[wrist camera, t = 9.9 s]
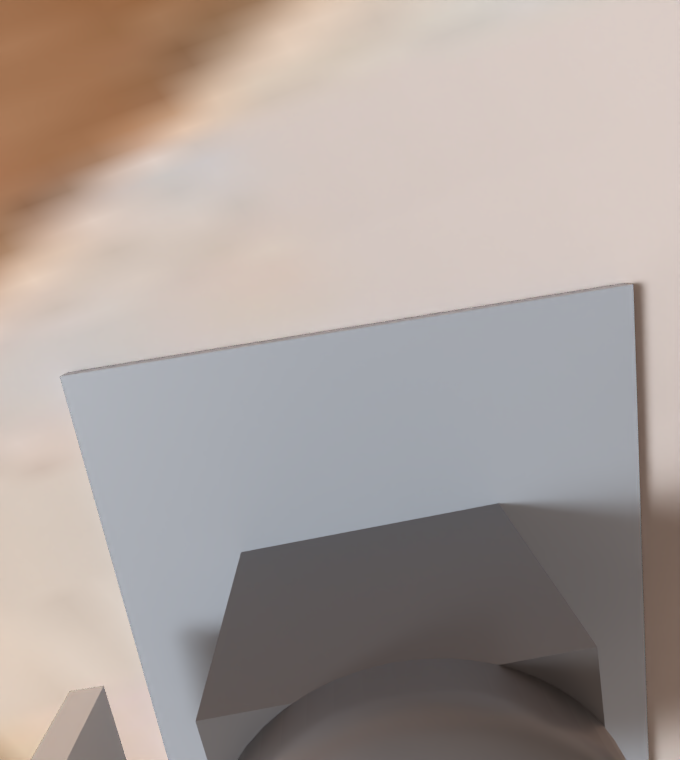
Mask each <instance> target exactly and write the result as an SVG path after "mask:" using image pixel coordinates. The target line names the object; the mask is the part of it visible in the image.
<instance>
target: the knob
mask: <svg viewBox="0 0 680 760" xmlns="http://www.w3.org/2000/svg"><path fill="white" fill-rule="evenodd" d="M195 722H196V725H197V728H198V731H199V735H200V738H201V741H202V744H203V748H204V751H205V754H206V757H207V760H626V759H625V757H624V755H623V754H622V752H621V750H620V749H619V747H618V745H617V743H616V742H615V740H614V739H613V737H612V736H611V735H610V734H609V732H608V731H607V730H606V728H605V721H604V711H603V701H602V690H601V680H600V670H599V659H598V649H597V646H596V644H595V643H594V641H593V640H592V638H591V637H590V635H589V634H588V632H587V631H586V630H585V628H584V627H583V625H582V624H581V622H580V621H579V619H578V618H577V616H576V615H575V614H574V612H573V611H572V609H571V608H570V606H569V605H568V603H567V602H566V601H565V599H564V598H563V596H562V595H561V593H560V592H559V590H558V589H557V587H556V586H555V585H554V583H553V582H552V580H551V579H550V577H549V576H548V574H547V573H546V571H545V570H544V569H543V567H542V566H541V564H540V563H539V561H538V560H537V558H536V557H535V556H534V554H533V553H532V551H531V550H530V548H529V547H528V545H527V544H526V542H525V541H524V540H523V538H522V537H521V535H520V534H519V532H518V531H517V529H516V528H515V527H514V525H513V524H512V522H511V521H510V519H509V518H508V516H507V515H506V513H505V512H504V511H503V509H502V508H501V506H500V505H499V503H497V504H492V505H486V506H481V507H476V508H471V509H465V510H460V511H455V512H450V513H444V514H439V515H434V516H429V517H423V518H418V519H413V520H408V521H402V522H397V523H392V524H387V525H381V526H376V527H371V528H366V529H360V530H355V531H350V532H345V533H339V534H334V535H329V536H323V537H318V538H313V539H308V540H302V541H297V542H292V543H287V544H281V545H276V546H271V547H266V548H260V549H255V550H250V551H245V552H241V554H240V558H239V562H238V565H237V569H236V573H235V577H234V580H233V584H232V588H231V591H230V595H229V599H228V602H227V606H226V610H225V614H224V617H223V621H222V625H221V628H220V632H219V636H218V640H217V643H216V647H215V651H214V654H213V658H212V662H211V665H210V669H209V673H208V677H207V680H206V684H205V688H204V691H203V695H202V699H201V702H200V706H199V710H198V714H197V717H196V721H195Z"/></svg>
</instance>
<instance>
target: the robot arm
mask: <svg viewBox="0 0 680 760" xmlns="http://www.w3.org/2000/svg"><path fill="white" fill-rule="evenodd" d="M31 760H126V757H125V754H124V751H123V748H122V744H121V741H120V738H119V735H118V731H117V728H116V725H115V722H114V718H113V715H112V712H111V709H110V705H109V702H108V699H107V696H106V692H105V689H104V686H100V687H94V688H87V689H81V690H74V691H70V692H69V693H68V695H67V697H66V699H65V700H64V702H63V704H62V706H61V707H60V709H59V711H58V713H57V714H56V716H55V718H54V720H53V721H52V723H51V725H50V727H49V728H48V730H47V732H46V734H45V735H44V737H43V739H42V741H41V742H40V744H39V746H38V748H37V749H36V751H35V753H34V755H33V757H32V758H31Z"/></svg>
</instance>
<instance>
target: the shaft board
mask: <svg viewBox="0 0 680 760" xmlns="http://www.w3.org/2000/svg"><path fill="white" fill-rule="evenodd" d="M60 379H61V383H62V386H63V390H64V393H65V397H66V401H67V404H68V408H69V411H70V415H71V418H72V422H73V425H74V429H75V432H76V436H77V439H78V443H79V446H80V450H81V453H82V457H83V461H84V464H85V468H86V471H87V475H88V478H89V482H90V485H91V489H92V492H93V496H94V499H95V503H96V506H97V510H98V513H99V517H100V520H101V524H102V528H103V531H104V535H105V538H106V542H107V545H108V549H109V552H110V556H111V559H112V563H113V566H114V570H115V573H116V577H117V580H118V584H119V588H120V591H121V595H122V598H123V602H124V605H125V609H126V612H127V616H128V619H129V623H130V626H131V630H132V633H133V637H134V640H135V644H136V647H137V651H138V655H139V658H140V662H141V665H142V669H143V672H144V676H145V679H146V683H147V686H148V690H149V693H150V697H151V700H152V704H153V707H154V711H155V715H156V718H157V722H158V725H159V729H160V732H161V736H162V739H163V743H164V746H165V750H166V753H167V757H168V760H207V757H206V754H205V751H204V748H203V744H202V741H201V738H200V735H199V731H198V728H197V725H196V722H195V721H196V717H197V714H198V710H199V706H200V702H201V699H202V695H203V691H204V688H205V684H206V680H207V677H208V673H209V669H210V665H211V662H212V658H213V654H214V651H215V647H216V643H217V640H218V636H219V632H220V628H221V625H222V621H223V617H224V614H225V610H226V606H227V602H228V599H229V595H230V591H231V588H232V584H233V580H234V577H235V573H236V569H237V565H238V562H239V558H240V554H241V552H245V551H250V550H255V549H260V548H266V547H271V546H276V545H281V544H287V543H292V542H297V541H302V540H308V539H313V538H318V537H323V536H329V535H334V534H339V533H345V532H350V531H355V530H360V529H366V528H371V527H376V526H381V525H387V524H392V523H397V522H402V521H408V520H413V519H418V518H423V517H429V516H434V515H439V514H444V513H450V512H455V511H460V510H465V509H471V508H476V507H481V506H486V505H492V504H497V503H499V505H500V506H501V508H502V509H503V511H504V512H505V513H506V515H507V516H508V518H509V519H510V521H511V522H512V524H513V525H514V527H515V528H516V529H517V531H518V532H519V534H520V535H521V537H522V538H523V540H524V541H525V542H526V544H527V545H528V547H529V548H530V550H531V551H532V553H533V554H534V556H535V557H536V558H537V560H538V561H539V563H540V564H541V566H542V567H543V569H544V570H545V571H546V573H547V574H548V576H549V577H550V579H551V580H552V582H553V583H554V585H555V586H556V587H557V589H558V590H559V592H560V593H561V595H562V596H563V598H564V599H565V601H566V602H567V603H568V605H569V606H570V608H571V609H572V611H573V612H574V614H575V615H576V616H577V618H578V619H579V621H580V622H581V624H582V625H583V627H584V628H585V630H586V631H587V632H588V634H589V635H590V637H591V638H592V640H593V641H594V643H595V644H596V646H597V649H598V659H599V670H600V680H601V690H602V701H603V711H604V721H605V728H606V730H607V731H608V732H609V734H610V735H611V736H612V737H613V739H614V740H615V742H616V743H617V745H618V747H619V749H620V750H621V752H622V754H623V755H624V757H625V759H626V760H649V755H648V724H647V693H646V662H645V631H644V600H643V569H642V538H641V507H640V476H639V445H638V414H637V383H636V352H635V321H634V290H633V284H625V283H623V284H617V285H610V286H604V287H598V288H592V289H585V290H579V291H573V292H567V293H560V294H554V295H548V296H542V297H536V298H529V299H523V300H517V301H511V302H504V303H498V304H492V305H486V306H479V307H473V308H467V309H461V310H455V311H448V312H442V313H436V314H430V315H423V316H417V317H411V318H405V319H398V320H392V321H386V322H380V323H374V324H367V325H361V326H355V327H349V328H342V329H336V330H330V331H324V332H317V333H311V334H305V335H299V336H293V337H286V338H280V339H274V340H268V341H261V342H255V343H249V344H243V345H236V346H230V347H224V348H218V349H212V350H205V351H199V352H193V353H187V354H180V355H174V356H168V357H162V358H156V359H149V360H143V361H137V362H131V363H124V364H118V365H112V366H106V367H99V368H93V369H87V370H81V371H75V372H68V373H66V374H64V375H62V376H60Z"/></svg>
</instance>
